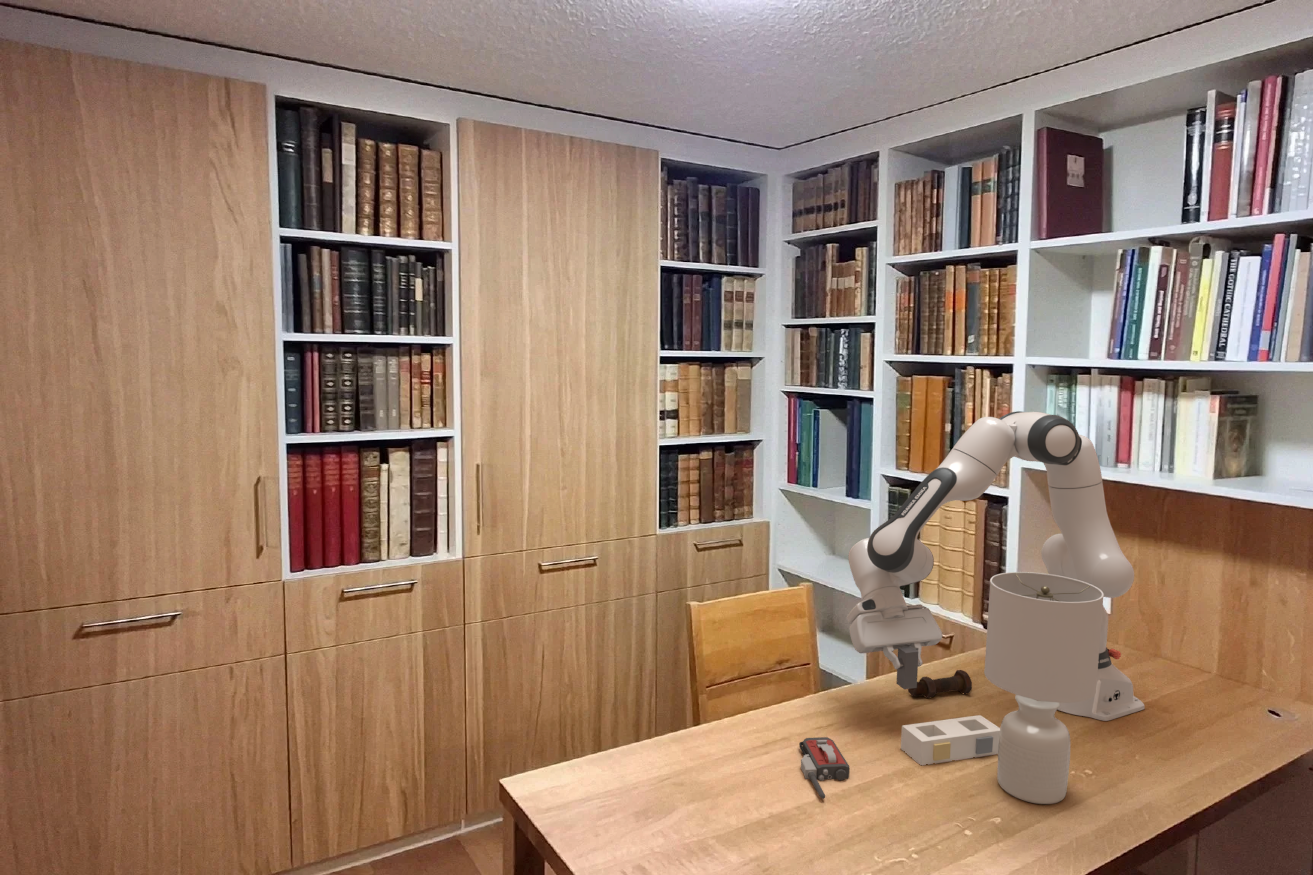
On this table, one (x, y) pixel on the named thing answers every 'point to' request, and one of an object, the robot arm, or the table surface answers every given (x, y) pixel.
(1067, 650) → the lamp
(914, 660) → the plug
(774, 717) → the table surface
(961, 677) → the bolt
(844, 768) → the walkie-talkie
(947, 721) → the white socket block
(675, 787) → the table surface
